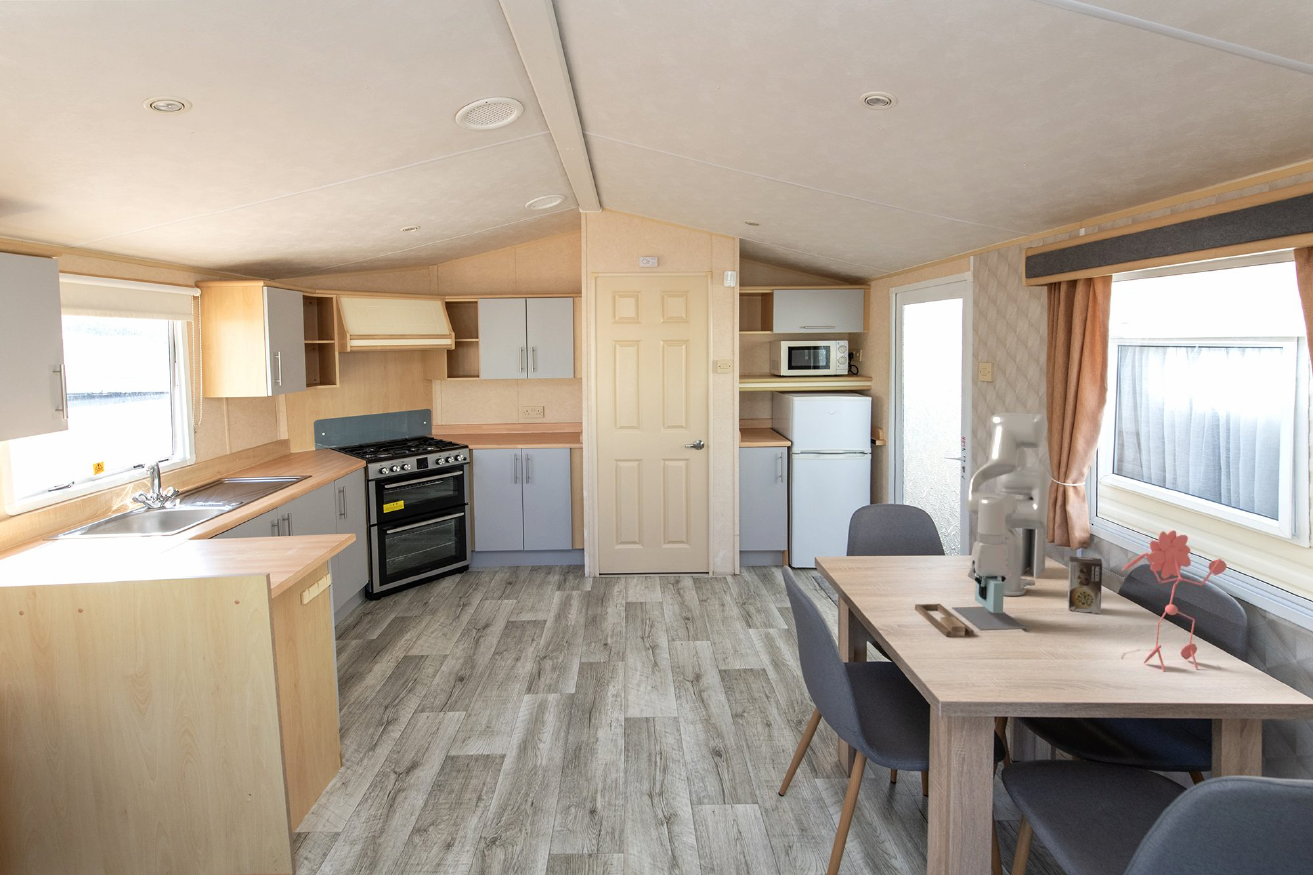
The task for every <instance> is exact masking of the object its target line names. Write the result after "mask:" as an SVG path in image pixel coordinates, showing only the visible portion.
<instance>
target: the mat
mask: <svg viewBox="0 0 1313 875" xmlns="http://www.w3.org/2000/svg"><path fill="white" fill-rule="evenodd" d="M951 609H952V610H954V611H955V612H956V613H957V614H959V615H960V616H962V618H964V619H965V620H967V622H969V623H971V625H973V626H974V627H975V628H976V629H978V630H979V631H992V630H993V631H999V630H1001V631H1002V630H1005V631H1006V630H1021V631H1023V632H1028V627H1026V626H1025V625H1024V624H1022V623H1020V622H1019V621H1018V620H1016V619H1015V618H1013V617H1012V616H1011V615H1009V614H1008V613H1006V612H1004V611H1003V613H992V612H991V611H989V610H988V609H987V608H985V607H984V606H964V607H963V606H962V607H961V606H957V607H954V606H953V607H951Z"/></svg>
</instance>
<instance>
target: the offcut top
mask: <svg viewBox="0 0 1313 875" xmlns="http://www.w3.org/2000/svg"><path fill="white" fill-rule="evenodd" d="M939 619H940V621H939V622H941V623H942V624H943V625H944V626H945V627H946V628H948V629H949V630H950V631H951V632H965V626H964V625H963V624H962V623H961V622H960V621H958V620H957V619H956V618H955V617H945V616H940V618H939Z"/></svg>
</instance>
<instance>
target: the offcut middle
mask: <svg viewBox="0 0 1313 875" xmlns="http://www.w3.org/2000/svg"><path fill="white" fill-rule="evenodd" d="M939 622H940V621H939ZM940 623H941V622H940ZM965 635H966V633H965V632H951V637H950V638H953V637H965Z"/></svg>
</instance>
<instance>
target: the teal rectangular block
mask: <svg viewBox="0 0 1313 875" xmlns="http://www.w3.org/2000/svg"><path fill="white" fill-rule="evenodd" d="M975 576H976V577H978V576H977V575H976V574H975ZM985 586H986V587H987V592H986V600H984V599H982V598H981V597H980V596H979V584H978V583H977V582H976V581H975V588H974V589H975V590H974V591H975V592H974V601H976V602H977V603H979V604H980V606H981V607H983V606H984V607H985V608H987V609H988V610H989V611H991V612H992V613H1003V612H1004V598H1005V597H1004V583H1003V582H1002V581H1000V580H998V579H997V578H995V577H994V576H990V577H986V582H985Z"/></svg>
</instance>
